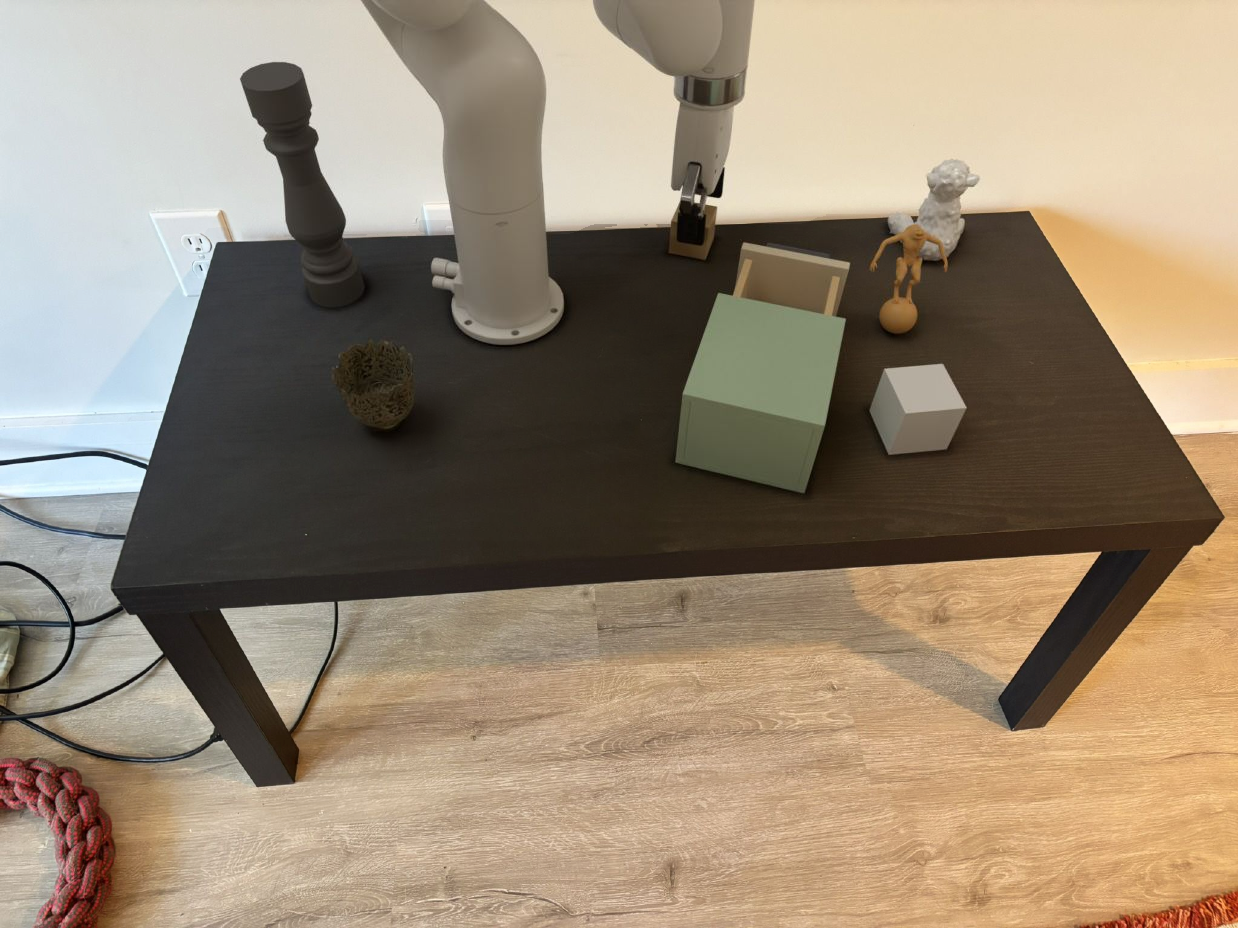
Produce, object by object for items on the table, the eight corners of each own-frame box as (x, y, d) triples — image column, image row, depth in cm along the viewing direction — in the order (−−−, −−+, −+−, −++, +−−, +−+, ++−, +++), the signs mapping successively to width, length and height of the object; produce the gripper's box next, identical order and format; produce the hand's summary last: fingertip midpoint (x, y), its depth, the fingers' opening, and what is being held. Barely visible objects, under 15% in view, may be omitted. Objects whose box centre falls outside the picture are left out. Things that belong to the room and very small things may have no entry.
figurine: (860, 341, 94) (888, 251, 84) (850, 305, 97) (876, 215, 88) (934, 341, 94) (971, 251, 84) (921, 306, 98) (955, 216, 88)
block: (668, 253, 103) (670, 220, 100) (677, 231, 106) (680, 199, 102) (705, 260, 102) (709, 228, 99) (713, 238, 105) (717, 206, 102)
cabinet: (708, 363, 91) (718, 292, 83) (825, 388, 89) (846, 318, 81) (675, 462, 82) (682, 393, 75) (804, 493, 80) (825, 425, 72)
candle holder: (375, 285, 98) (320, 72, 79) (337, 314, 95) (270, 99, 76) (336, 267, 100) (273, 54, 81) (298, 295, 97) (222, 80, 78)
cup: (410, 457, 82) (394, 400, 76) (338, 445, 83) (317, 387, 77) (436, 402, 86) (423, 344, 80) (368, 391, 87) (350, 333, 81)
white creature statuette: (960, 228, 107) (994, 140, 98) (972, 270, 102) (1009, 182, 93) (885, 223, 108) (912, 135, 98) (893, 265, 102) (922, 176, 93)
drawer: (742, 276, 99) (751, 219, 93) (839, 295, 97) (855, 238, 91) (708, 379, 88) (715, 322, 82) (817, 403, 86) (833, 346, 80)
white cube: (924, 405, 87) (943, 363, 83) (946, 449, 84) (967, 407, 79) (868, 410, 87) (884, 368, 82) (888, 455, 83) (905, 413, 78)
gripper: (694, 37, 94) (686, 174, 107) (653, 116, 84) (650, 256, 97) (761, 45, 93) (744, 183, 106) (727, 127, 82) (714, 268, 96)
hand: (699, 218), depth 102 cm, fingers open, 9 cm apart
